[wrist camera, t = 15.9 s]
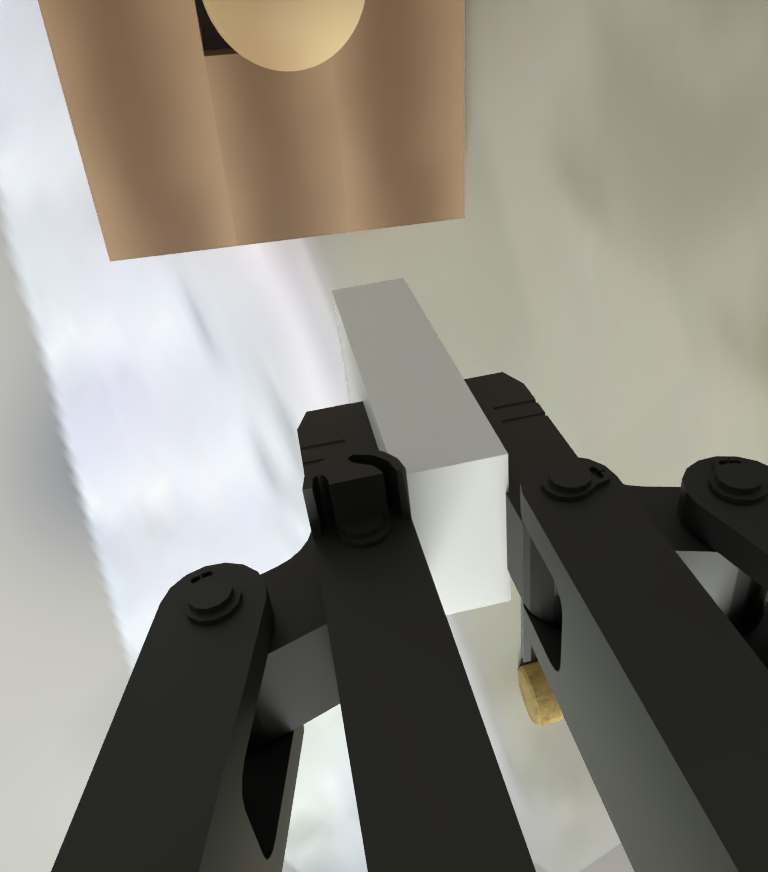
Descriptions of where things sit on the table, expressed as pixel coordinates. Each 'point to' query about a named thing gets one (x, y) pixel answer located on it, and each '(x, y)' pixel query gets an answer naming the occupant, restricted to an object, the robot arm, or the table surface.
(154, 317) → the table surface
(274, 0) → the peg
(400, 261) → the table surface
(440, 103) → the board
